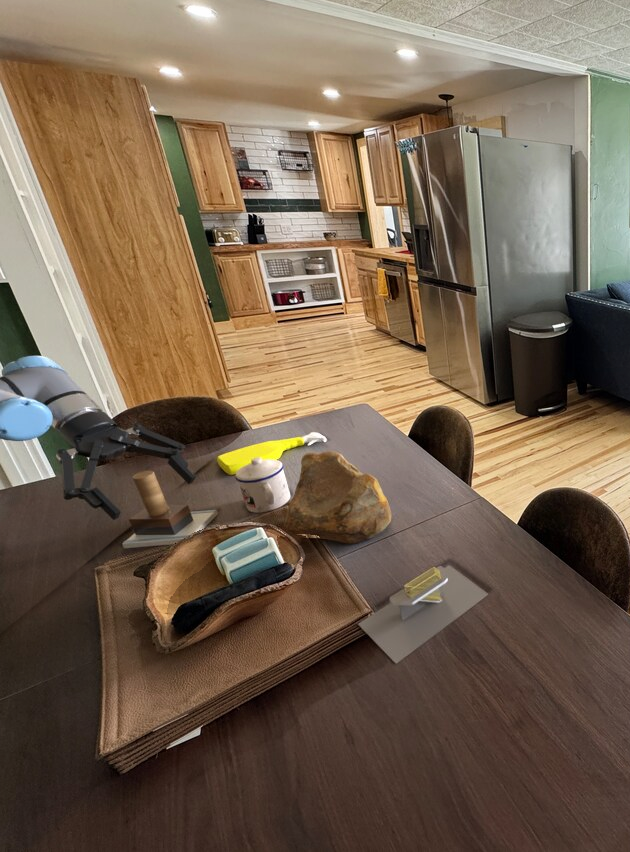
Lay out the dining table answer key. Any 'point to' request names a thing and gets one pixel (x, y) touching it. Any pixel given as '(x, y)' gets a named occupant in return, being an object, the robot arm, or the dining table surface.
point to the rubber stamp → (157, 509)
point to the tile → (198, 523)
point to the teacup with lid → (263, 485)
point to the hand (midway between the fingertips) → (157, 497)
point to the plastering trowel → (421, 611)
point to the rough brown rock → (336, 501)
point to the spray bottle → (263, 451)
